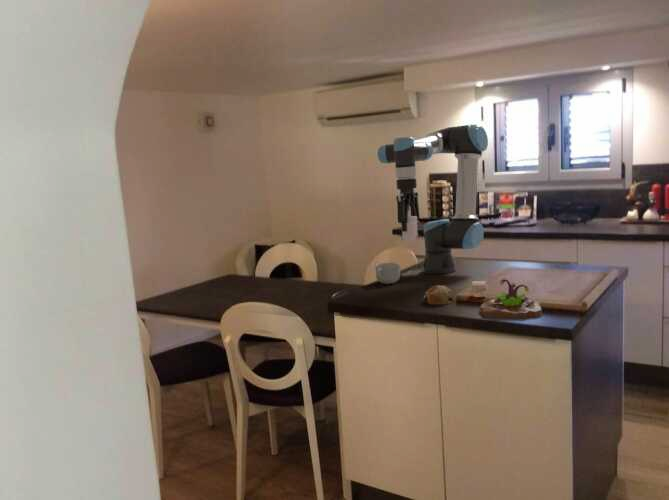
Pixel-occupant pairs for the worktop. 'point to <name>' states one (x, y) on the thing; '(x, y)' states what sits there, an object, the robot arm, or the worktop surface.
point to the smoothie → (411, 227)
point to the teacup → (387, 272)
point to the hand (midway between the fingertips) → (410, 238)
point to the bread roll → (438, 295)
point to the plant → (511, 305)
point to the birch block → (479, 285)
